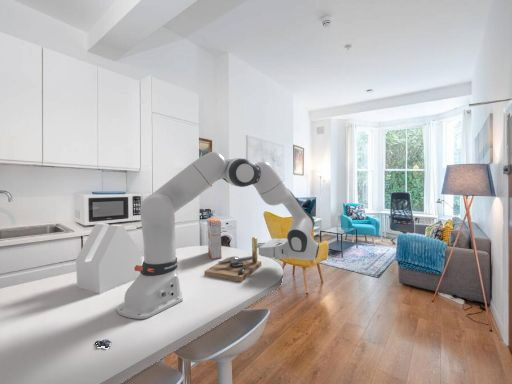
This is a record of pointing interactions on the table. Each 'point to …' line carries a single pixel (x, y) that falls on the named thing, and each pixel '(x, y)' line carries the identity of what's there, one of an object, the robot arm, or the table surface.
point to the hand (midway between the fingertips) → (257, 245)
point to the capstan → (237, 261)
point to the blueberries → (103, 343)
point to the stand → (233, 270)
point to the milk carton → (107, 259)
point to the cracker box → (214, 237)
